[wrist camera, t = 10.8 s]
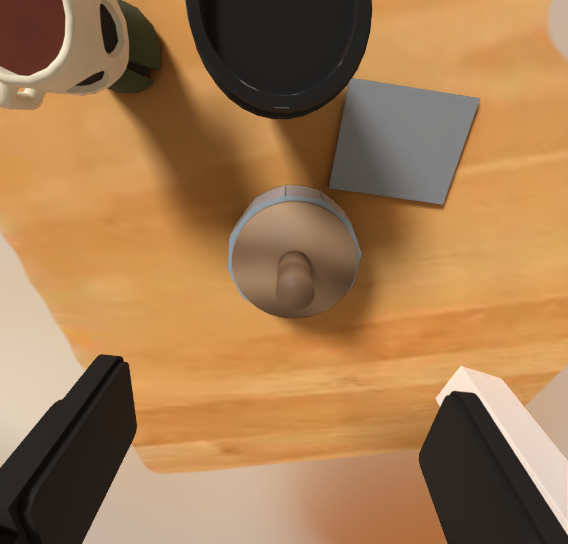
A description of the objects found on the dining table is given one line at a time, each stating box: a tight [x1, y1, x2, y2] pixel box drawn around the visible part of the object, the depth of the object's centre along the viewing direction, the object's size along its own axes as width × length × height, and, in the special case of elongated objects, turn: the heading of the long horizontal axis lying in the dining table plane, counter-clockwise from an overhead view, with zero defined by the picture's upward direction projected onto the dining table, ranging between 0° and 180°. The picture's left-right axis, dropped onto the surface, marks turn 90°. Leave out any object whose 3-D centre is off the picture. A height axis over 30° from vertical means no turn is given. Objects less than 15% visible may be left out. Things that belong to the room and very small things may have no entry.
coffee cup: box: [185, 0, 372, 119], centre depth 20 cm, size 8×8×15 cm
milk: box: [436, 366, 568, 535], centre depth 32 cm, size 6×6×22 cm
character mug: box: [0, 0, 161, 110], centre depth 21 cm, size 11×7×13 cm, turn 143°
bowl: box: [227, 185, 361, 314], centre depth 31 cm, size 12×12×5 cm
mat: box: [328, 78, 480, 204], centre depth 29 cm, size 11×9×1 cm
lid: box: [232, 201, 357, 318], centre depth 26 cm, size 11×11×6 cm
